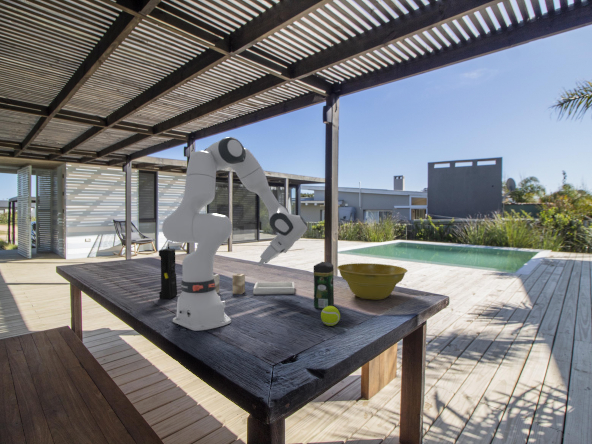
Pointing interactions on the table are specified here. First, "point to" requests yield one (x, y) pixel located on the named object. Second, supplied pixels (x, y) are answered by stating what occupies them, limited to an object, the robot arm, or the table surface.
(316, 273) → the coffee jar
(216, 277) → the block
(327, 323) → the tennis ball
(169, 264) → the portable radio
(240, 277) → the block
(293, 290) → the tray
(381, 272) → the planter bowl
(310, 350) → the table surface
